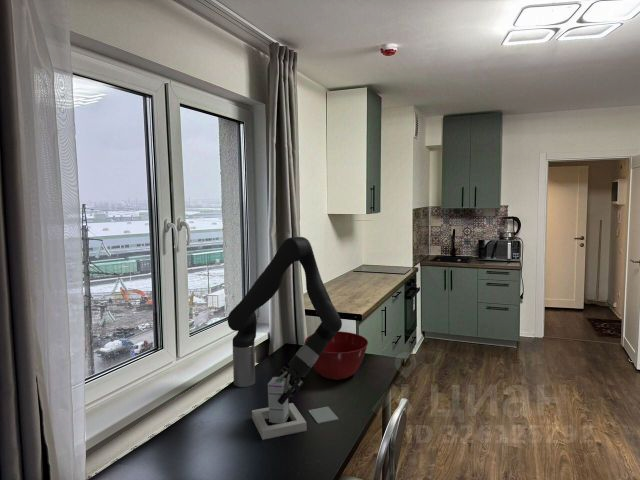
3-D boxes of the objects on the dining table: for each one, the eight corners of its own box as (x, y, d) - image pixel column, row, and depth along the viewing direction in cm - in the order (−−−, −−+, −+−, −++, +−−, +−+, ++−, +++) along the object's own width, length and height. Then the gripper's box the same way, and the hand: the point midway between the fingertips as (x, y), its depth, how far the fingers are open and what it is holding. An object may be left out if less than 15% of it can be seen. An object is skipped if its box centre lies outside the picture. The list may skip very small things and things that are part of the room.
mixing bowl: (378, 369, 208) (378, 337, 207) (348, 393, 184) (348, 356, 183) (326, 357, 223) (326, 327, 222) (292, 378, 200) (292, 344, 198)
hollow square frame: (252, 418, 164) (251, 410, 164) (292, 410, 170) (292, 402, 170) (262, 439, 150) (262, 431, 150) (306, 430, 156) (306, 422, 155)
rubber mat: (308, 411, 169) (308, 410, 169) (328, 407, 172) (328, 406, 172) (317, 423, 160) (317, 422, 160) (338, 419, 163) (338, 418, 163)
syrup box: (284, 424, 157) (284, 384, 155) (268, 422, 158) (267, 382, 156) (289, 416, 162) (288, 377, 160) (273, 414, 163) (272, 376, 162)
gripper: (288, 348, 167) (260, 385, 163) (306, 361, 155) (275, 401, 151) (301, 359, 170) (274, 395, 166) (319, 373, 158) (290, 412, 154)
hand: (274, 398), depth 158 cm, fingers closed on syrup box, 8 cm apart
